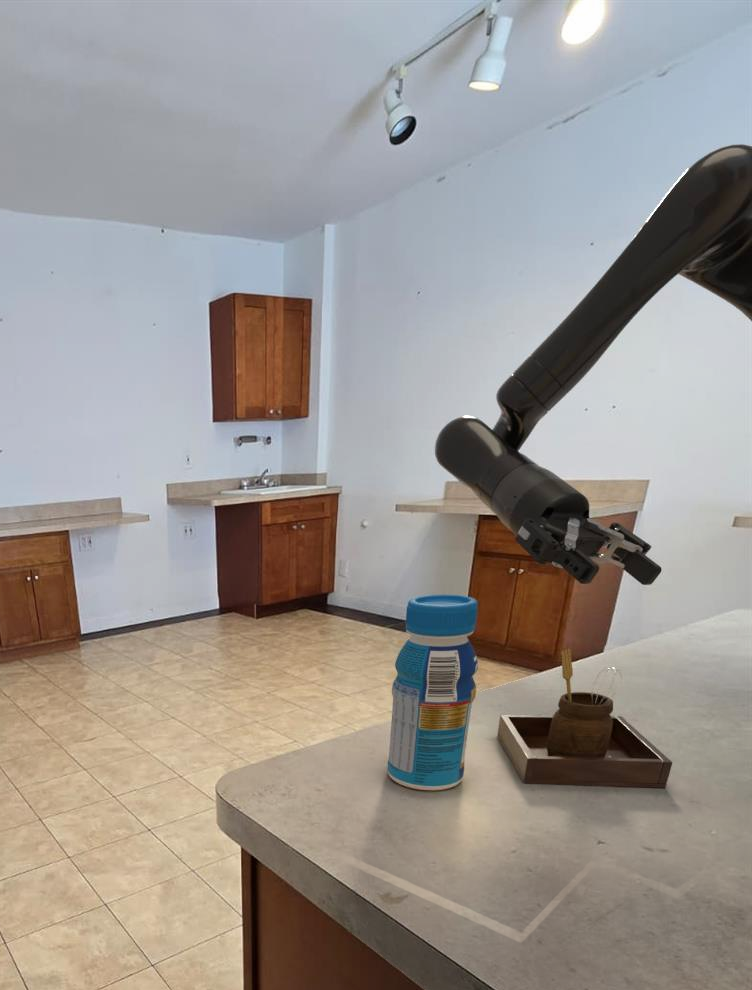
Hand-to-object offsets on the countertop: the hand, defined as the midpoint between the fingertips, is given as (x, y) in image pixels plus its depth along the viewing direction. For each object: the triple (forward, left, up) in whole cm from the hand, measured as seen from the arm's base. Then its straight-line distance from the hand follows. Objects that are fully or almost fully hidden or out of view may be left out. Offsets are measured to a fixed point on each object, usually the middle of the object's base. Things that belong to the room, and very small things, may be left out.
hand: (623, 577), depth 69 cm
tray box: (+3, +4, -20) cm, 21 cm away
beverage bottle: (+20, +10, -20) cm, 30 cm away
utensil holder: (+3, +4, -20) cm, 20 cm away
